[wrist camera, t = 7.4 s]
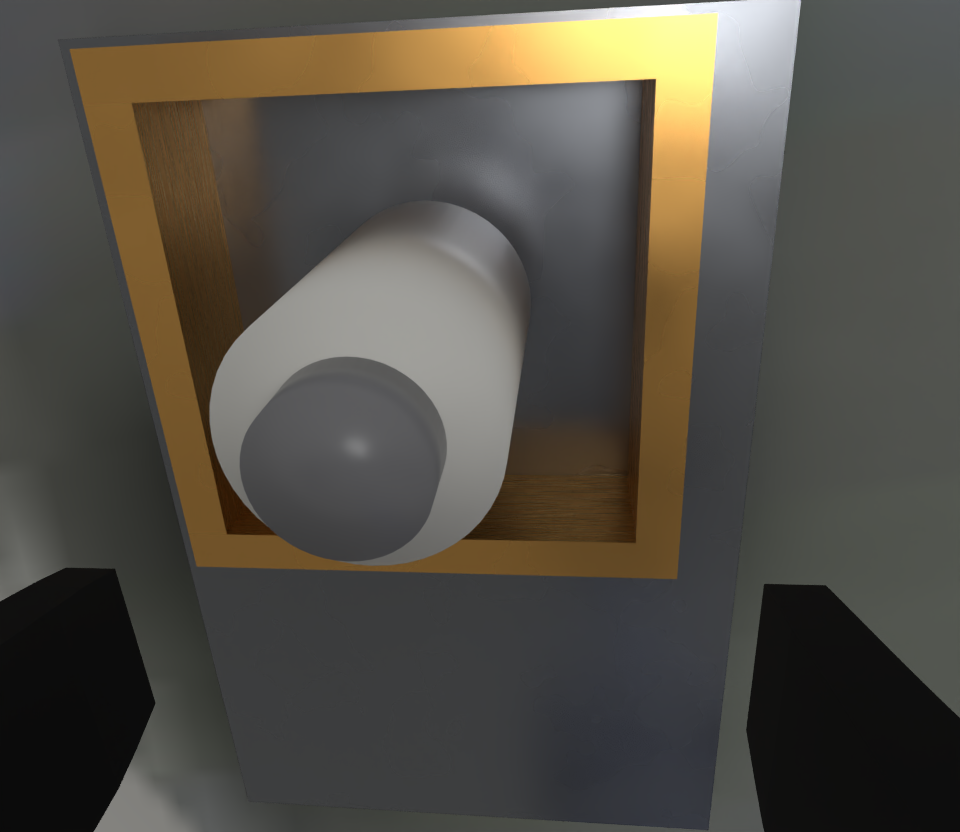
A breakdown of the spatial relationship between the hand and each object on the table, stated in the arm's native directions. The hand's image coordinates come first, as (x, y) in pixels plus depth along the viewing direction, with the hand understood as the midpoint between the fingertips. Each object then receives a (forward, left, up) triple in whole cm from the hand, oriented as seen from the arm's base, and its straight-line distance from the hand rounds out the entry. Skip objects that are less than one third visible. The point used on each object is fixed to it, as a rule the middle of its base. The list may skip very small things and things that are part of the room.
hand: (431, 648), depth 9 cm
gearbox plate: (-3, +1, -9) cm, 10 cm away
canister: (+1, +1, -8) cm, 9 cm away
